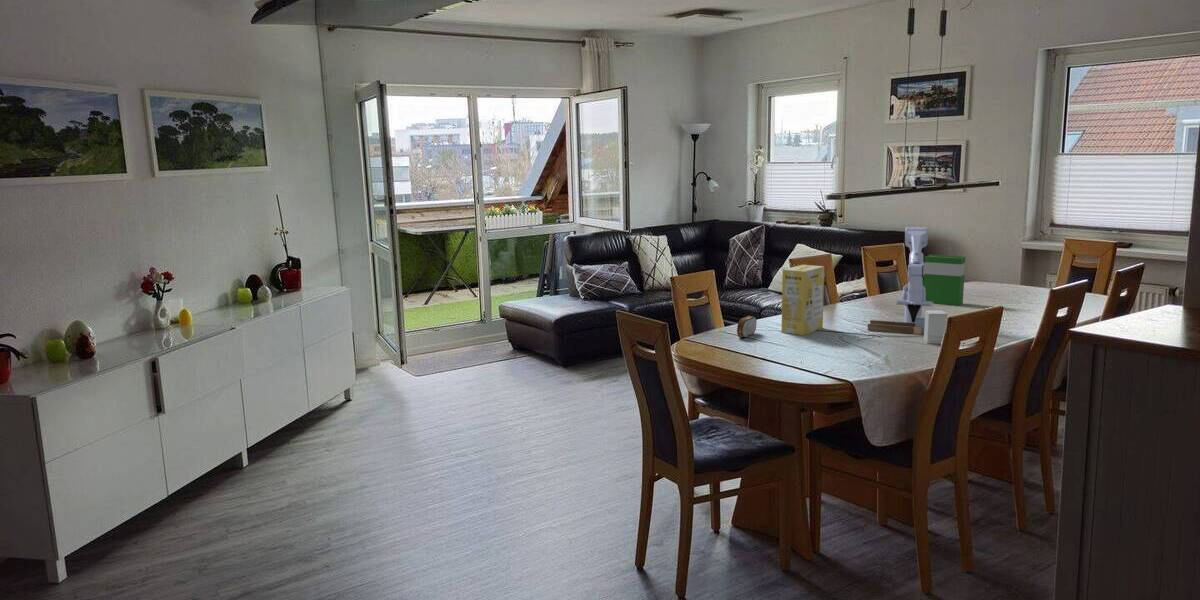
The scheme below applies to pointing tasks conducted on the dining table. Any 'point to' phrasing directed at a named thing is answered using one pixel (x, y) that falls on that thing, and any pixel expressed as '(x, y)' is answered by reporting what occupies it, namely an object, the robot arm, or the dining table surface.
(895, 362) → the dining table surface
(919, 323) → the block
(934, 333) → the supplement box
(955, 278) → the hardback book
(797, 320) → the pasta box
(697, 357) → the dining table surface
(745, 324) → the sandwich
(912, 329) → the brown wooden rails
